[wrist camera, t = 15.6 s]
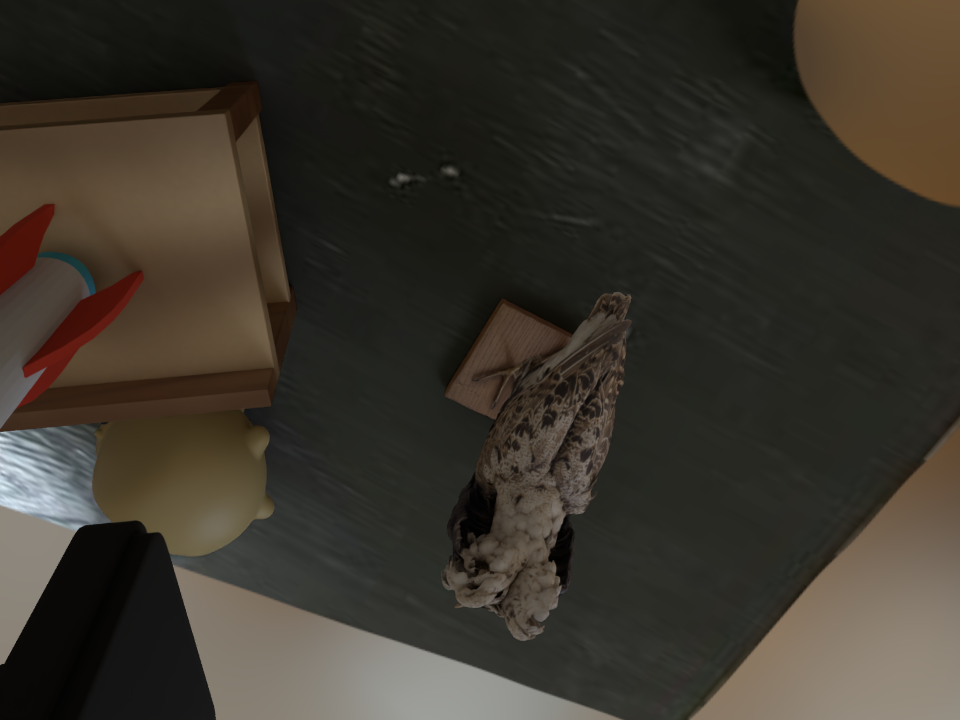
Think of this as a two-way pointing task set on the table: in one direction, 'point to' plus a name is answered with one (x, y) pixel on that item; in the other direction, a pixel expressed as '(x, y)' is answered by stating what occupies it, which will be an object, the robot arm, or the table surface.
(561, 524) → the stuffed bird
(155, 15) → the table surface
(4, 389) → the toy rocket
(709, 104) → the table surface
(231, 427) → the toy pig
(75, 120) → the rack
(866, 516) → the table surface
